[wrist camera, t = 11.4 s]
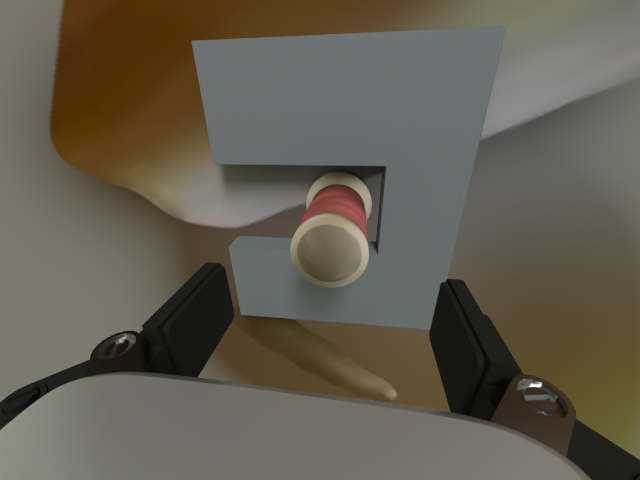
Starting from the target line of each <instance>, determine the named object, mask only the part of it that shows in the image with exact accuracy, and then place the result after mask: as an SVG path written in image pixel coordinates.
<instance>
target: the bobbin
mask: <svg viewBox="0 0 640 480" xmlns="http://www.w3.org/2000/svg"><path fill="white" fill-rule="evenodd" d="M306 207H307V211H306V213H305V215H304V217H303V219H302V221H301V223H300V225H299V227H298V229H297V231H296V233H295V235H294V237H293V239H292V242H291V245H290V256H291V260H292V263H293V265H294V267H295V269H296V270H297V272H298V273H299V274H300V275H301V276H302V277H303V278H305V279H306V280H307V281H309V282H311V283H313V284H315V285H318V286H322V287H330V288H334V287H341V286H345V285H348V284H350V283H352V282H353V281H355V280H356V279H357V278H359V277H360V276H361V274H362V273H363V272H364V270H365V268H366V266H367V263H368V259H369V248H368V236H367V226H366V221H367V220H368V218H369V216H370V213H371V208H372V202H371V195H370V191H369V189H368V187H367V185H366V184H365V182H364V181H363V180H362V179H361V178H360V177H358V176H357V175H355V174H353V173H351V172H348V171H341V170H338V171H331V172H328V173H326V174H324V175H322V176H320V177H319V178H318V179H317V180H316V181H315V182H314V184H313V185H312V187H311V188H310V190H309V192H308V195H307V200H306Z"/></svg>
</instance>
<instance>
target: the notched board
mask: <svg viewBox="0 0 640 480" xmlns="http://www.w3.org/2000/svg"><path fill="white" fill-rule="evenodd" d="M505 31H506V26H501V27H479V28H458V29H436V30H415V31H394V32H372V33H351V34H329V35H308V36H286V37H265V38H244V39H222V40H201V41H192V47H193V52H194V58H195V63H196V69H197V74H198V80H199V85H200V91H201V96H202V102H203V107H204V113H205V118H206V124H207V129H208V135H209V140H210V146H211V151H212V157H213V162H214V164H239V165H331V166H383V171H382V182H381V193H380V205H379V217H378V227H377V239H376V242H369V241H368V248H369V259H368V263H367V266H366V268H365V270H364V272H363V273H362V274H361V276H360V277H359V278H357V279H356V280H355V281H353V282H352V283H350V284H348V285H345V286H341V287H334V288H330V287H322V286H318V285H315V284H313V283H311V282H309V281H307V280H306V279H305V278H303V277H302V276H301V275H300V274H299V273H298V272H297V270H296V269H295V267H294V265H293V263H292V260H291V256H290V245H291V242H292V239H293V238H276V237H254V236H239V237H238V238H237V239H236V240H235V241H234V242H233V243H232V244H231V245H230V246H229V250H230V256H231V262H232V267H233V272H234V278H235V283H236V289H237V295H238V300H239V306H240V312H241V315H251V316H263V317H276V318H288V319H301V320H314V321H327V322H339V323H352V324H364V325H376V326H377V325H378V326H389V327H401V328H415V329H427V330H430V328H431V323H432V319H433V315H434V310H435V306H436V302H437V297H438V293H439V289H440V285H441V282H445V281H446V280H447V277H448V272H449V268H450V264H451V260H452V255H453V251H454V247H455V243H456V238H457V234H458V230H459V225H460V222H461V217H462V213H463V209H464V205H465V200H466V196H467V192H468V188H469V183H470V179H471V175H472V170H473V166H474V162H475V158H476V153H477V149H478V145H479V141H480V137H481V132H482V128H483V124H484V120H485V115H486V111H487V107H488V103H489V99H490V94H491V90H492V86H493V82H494V77H495V73H496V69H497V65H498V60H499V56H500V52H501V48H502V43H503V39H504V35H505Z"/></svg>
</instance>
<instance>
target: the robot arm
mask: <svg viewBox="0 0 640 480" xmlns="http://www.w3.org/2000/svg"><path fill="white" fill-rule="evenodd" d="M233 318H234V310H233V305H232V300H231V295H230V290H229V285H228V280H227V276H226V270H225V268H224V267H222V265H221V264H220V263H210V262H208V263H205V264H204V265H203V266H202V267H201V269H199V270H198V271H197V272H196V273H195V274H194V275H193V276H192V277H191V278H190V279H189V280H188V281H187V282H186V283H185V284H184V285H183V286H182V287H181V288H180V289H179V290H178V291H177V292H176V293H175V294H174V295H173V296H172V297H171V298H170V299H169V300H168V301H167V302H166V303H165V304H164V305H163V306H162V307H161V308H159V309H158V311H157V312H155V313H154V314H153V315H152V316H151V317H150V319H148V320H147V321H146V322H145V323H144V324H143V325H142V327H143V330H142V331H141V332H140V333H138V332H136V331H123V332H120V333H116V334H114V335H112V336H110V337H108V338H106V339H104V340H103V341H102V342H100V343H99V344H98V345H97V346H96V347H95V348H94V349H93V351H92V353H91V355H90V360H88V361H85V362H83V363H81V364H78V365H75V366H73V367H71V368H68V369H66V370H63V371H61V372H58V373H56V374H53V375H51V376H48V377H46V378H44V379H41V380H39V381H36V382H34V383H31V384H29V385H27V386H25V387H22V388H21V389H18V390H17V391H15V392H13V393H12V394H10V395H9V396H8V397H6V398H5V399H4V400H3V401H1V402H0V480H640V460H639V459H637V458H635V457H634V456H632V455H631V454H629V453H628V452H626V451H625V450H623V449H621V448H620V447H619V446H617V445H615V444H614V443H612V442H611V441H609V440H608V439H606V438H605V437H603V436H602V435H600V434H598V433H597V432H595V431H594V430H592V429H591V428H589V427H587V426H586V425H585V424H583V423H581V422H580V421H578V420H577V419H576V411H575V408H574V406H573V404H572V403H571V401H570V400H569V399H568V397H567V396H566V395H565V394H564V393H563V392H562V391H561V390H559V389H558V388H557V387H556V386H554V385H553V384H551V383H550V382H548V381H546V380H544V379H541V378H539V377H536V376H532V375H524V374H523V373H522V371H521V369H520V368H519V366H518V364H517V363H516V361H515V359H514V358H513V356H512V354H511V353H510V351H509V349H508V348H507V346H506V345H505V343H504V341H503V340H502V338H501V336H500V335H499V333H498V331H497V330H496V328H495V326H494V325H493V323H492V321H491V320H490V318H489V317H488V316H487V315H483V313H482V311H481V310H480V308H479V306H478V305H477V303H476V301H475V299H474V298H473V296H472V294H471V293H470V291H469V289H468V288H467V286H466V284H465V282H464V281H463V280H457V279H447V280H446V281H445V282H441V285H440V289H439V293H438V297H437V302H436V306H435V310H434V315H433V319H432V323H431V328H430V342H431V345H432V349H433V352H434V356H435V359H436V362H437V366H438V369H439V373H440V376H441V380H442V383H443V387H444V390H445V394H446V397H447V400H448V404H449V407H450V411H451V412H445V411H439V410H432V409H426V408H419V407H412V406H406V405H400V404H393V403H386V402H378V401H371V400H364V399H357V398H349V397H342V396H335V395H328V394H320V393H313V392H305V391H297V390H290V389H283V388H275V387H267V386H260V385H252V384H244V383H236V382H228V381H220V380H212V379H204V378H197V377H198V376H199V374H200V372H201V371H202V369H203V368H204V366H205V364H206V363H207V361H208V359H209V358H210V356H211V355H212V353H213V351H214V350H215V348H216V346H217V345H218V343H219V342H220V340H221V338H222V337H223V335H224V333H225V332H226V330H227V329H228V327H229V325H230V324H231V322H232V320H233Z"/></svg>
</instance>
